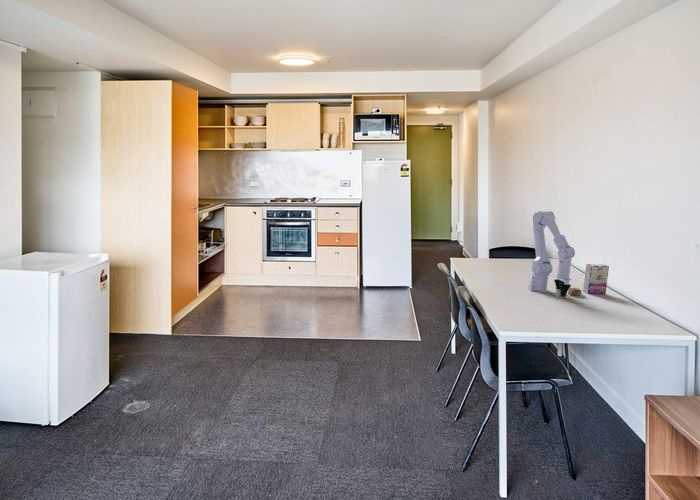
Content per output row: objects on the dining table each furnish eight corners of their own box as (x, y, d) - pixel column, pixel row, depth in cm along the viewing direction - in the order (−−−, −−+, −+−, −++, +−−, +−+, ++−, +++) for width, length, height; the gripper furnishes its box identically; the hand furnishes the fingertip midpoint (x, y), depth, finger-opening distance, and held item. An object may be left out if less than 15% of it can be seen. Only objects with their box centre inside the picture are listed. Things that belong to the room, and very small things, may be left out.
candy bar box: (599, 292, 285) (603, 264, 282) (605, 294, 280) (609, 265, 278) (581, 292, 283) (585, 263, 280) (587, 294, 278) (591, 265, 275)
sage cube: (557, 298, 266) (558, 290, 265) (555, 296, 270) (556, 289, 269) (565, 299, 266) (566, 291, 265) (563, 297, 270) (564, 289, 269)
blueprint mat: (565, 296, 270) (566, 296, 270) (557, 289, 286) (557, 289, 285) (587, 298, 269) (587, 297, 269) (577, 291, 284) (577, 290, 284)
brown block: (570, 295, 271) (571, 289, 270) (568, 293, 276) (568, 287, 275) (580, 296, 270) (581, 290, 270) (577, 294, 275) (578, 288, 275)
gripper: (576, 273, 258) (573, 299, 260) (567, 267, 272) (564, 292, 274) (562, 272, 259) (558, 297, 261) (554, 266, 273) (551, 291, 275)
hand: (560, 294), depth 268 cm, fingers open, 7 cm apart
